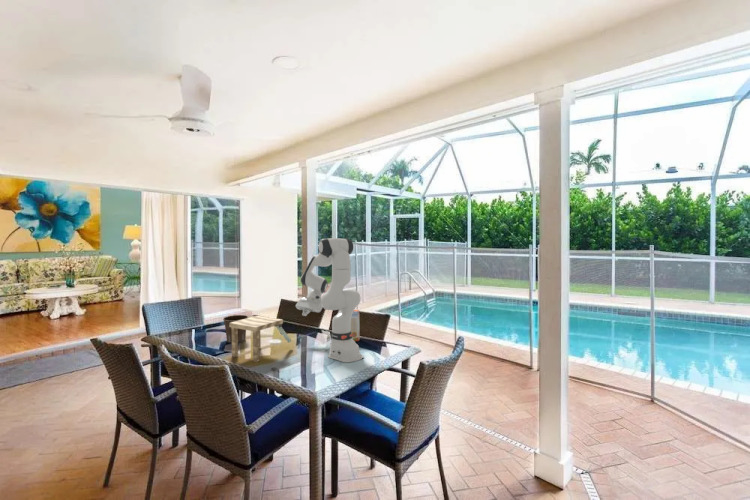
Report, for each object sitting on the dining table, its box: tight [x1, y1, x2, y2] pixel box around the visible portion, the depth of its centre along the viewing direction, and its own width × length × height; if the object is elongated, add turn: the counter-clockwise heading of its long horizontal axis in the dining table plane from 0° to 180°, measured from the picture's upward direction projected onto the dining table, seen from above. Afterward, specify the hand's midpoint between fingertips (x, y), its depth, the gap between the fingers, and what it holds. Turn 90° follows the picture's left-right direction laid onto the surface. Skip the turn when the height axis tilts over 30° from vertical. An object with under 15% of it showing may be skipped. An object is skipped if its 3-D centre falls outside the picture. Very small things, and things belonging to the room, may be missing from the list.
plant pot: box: [222, 314, 249, 344], centre depth 260 cm, size 16×16×16 cm
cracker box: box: [337, 309, 361, 342], centre depth 260 cm, size 14×6×21 cm, turn 84°
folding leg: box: [275, 325, 292, 343], centre depth 237 cm, size 2×2×17 cm
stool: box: [229, 315, 284, 363], centre depth 230 cm, size 22×22×20 cm
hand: (303, 315), depth 254 cm, fingers closed
